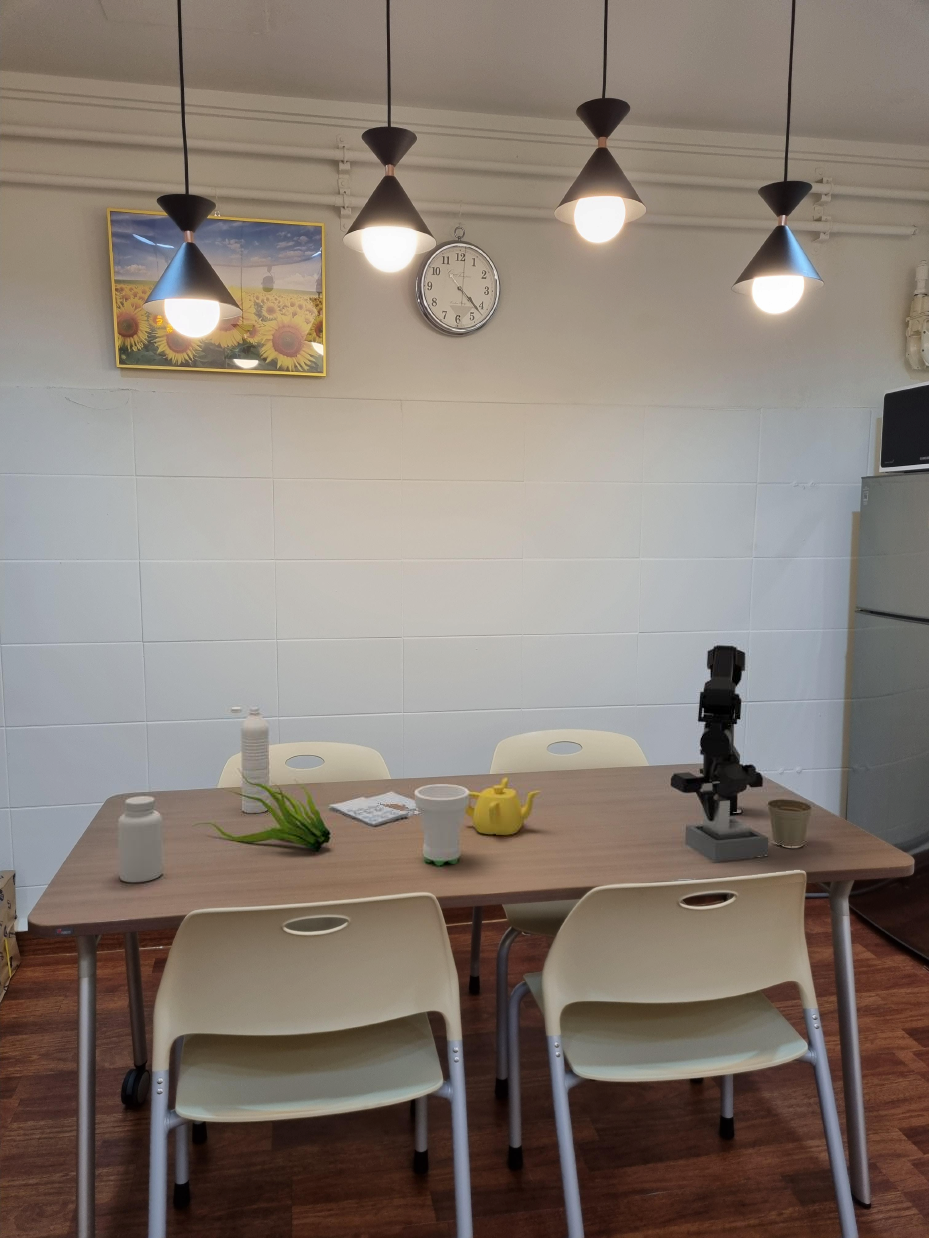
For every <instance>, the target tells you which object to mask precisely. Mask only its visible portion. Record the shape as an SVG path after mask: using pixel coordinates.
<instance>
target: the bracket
mask: <svg viewBox="0 0 929 1238" xmlns="http://www.w3.org/2000/svg"><path fill="white" fill-rule="evenodd" d="M702 810H703V811H702V813H703V814H702V824H703V831H705V832H706V833H708V834H710V835H712V836H713V837H715V838H717V839H718V840H719V839H729V838H740V837H750V828H751V827H750V826H749V825H747V824H745V823H743V822H741V821H739V820H737V819H735V818H730V815H731V814H730V800H728V799H726V798H724V797H722V796H720V795H718V794H716V795H715V796H714V798H713V819H712V821H709V820H708V819H707V816H706V814H705V811H704V809H702Z"/></svg>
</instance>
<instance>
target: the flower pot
mask: <svg viewBox="0 0 929 1238" xmlns="http://www.w3.org/2000/svg"><path fill="white" fill-rule="evenodd" d="M765 806H766V807H767V810H768V811H767V812H769V817H770V825H771V826H770V827H771V833H772V841H774V842H775V843H777V844H779V846H780V845H784V846H791V847H792V846H801V845H803V844H804V845H805V842H806V836H807V829H808V824H809V818H810V816H811V814H812V811H813V810H814V806H813V805H812V804H810V803H808V802H806V801H803V800H798V799H790V798H775V799H774V798H773V799H770V800H767V801H766V803H765ZM774 842H773V843H774Z"/></svg>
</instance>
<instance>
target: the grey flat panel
mask: <svg viewBox="0 0 929 1238" xmlns="http://www.w3.org/2000/svg"><path fill="white" fill-rule="evenodd" d="M378 803H379V804H378ZM380 803H381V804H385V805H386V804H389V805H390V804H398V805H401V806H405V807H408V808H409V809H405V810H418V808H417V806H416V805H415V799H413V798H412V799H411V798H409V797H406V796H403V795H401V794H398V793H396V792H394V791H393V790H392V791H389V792H387V793H383V794H381V795H376V796H371V797H367V798H366V797H364V796H361V797H360V796H359V797H357V798H354V799H350V800H347V801H346V800H345V801H344V802H339V803H338V802H337V803H335V804H329V805H328V806H329V807H328V809H329V808H331V809H332V810H331V811H333V810H335V811H337V812H336V813H338V812H340V813H341V815H343V814H344V815H343V816H345V815H347V816H346V817H348V816H349V818H351V819H353V818H354V819H353V820H356V821H358V822H360V823H362V824H365V823H366V824H365V825H368V826H371V827H377V826H381V825H384V824H387V822H388V823H392V822H395V821H394V820H396V821H398V820H397V819H399V820H402V819H401V818H403V819H406V818H405V817H407V816H411V815H413V814H418V813H419V812H418V811H405V810H404V811H400V810H396V809H393V808H389V807H385V806H383V805H380ZM335 811H334V812H335ZM408 812H409V813H408ZM340 813H339V814H340ZM418 815H419V814H418ZM407 818H408V817H407ZM391 821H392V822H391Z"/></svg>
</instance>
